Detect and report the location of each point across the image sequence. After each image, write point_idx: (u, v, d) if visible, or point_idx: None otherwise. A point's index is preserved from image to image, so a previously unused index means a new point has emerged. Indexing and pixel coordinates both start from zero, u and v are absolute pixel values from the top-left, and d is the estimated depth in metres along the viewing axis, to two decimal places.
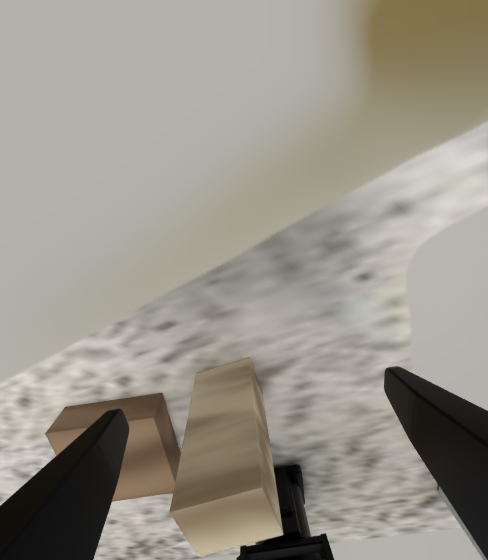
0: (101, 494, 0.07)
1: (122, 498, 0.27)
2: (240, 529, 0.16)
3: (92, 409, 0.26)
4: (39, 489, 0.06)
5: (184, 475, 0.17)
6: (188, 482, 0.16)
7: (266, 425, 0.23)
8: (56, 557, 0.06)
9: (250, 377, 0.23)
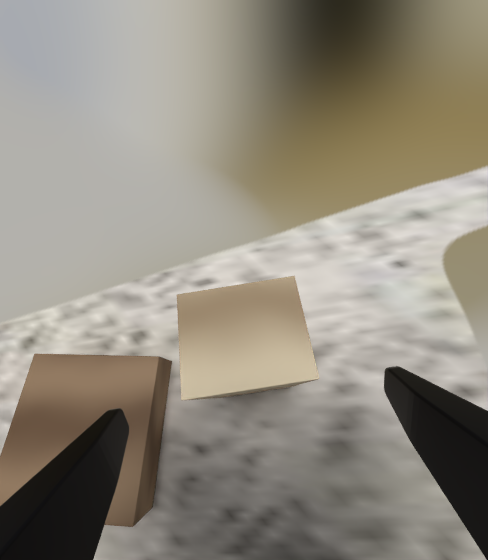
0: (101, 494, 0.07)
1: None
2: (256, 349, 0.11)
3: None
4: (39, 489, 0.06)
5: None
6: None
7: None
8: (56, 557, 0.06)
9: None
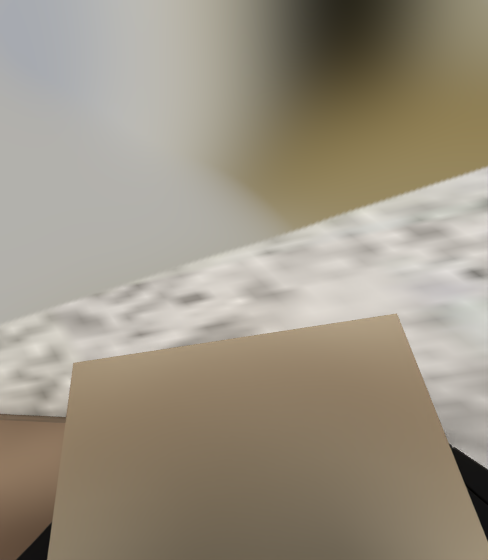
0: None
1: None
2: None
3: (14, 416, 0.15)
4: None
5: None
6: None
7: None
8: None
9: None
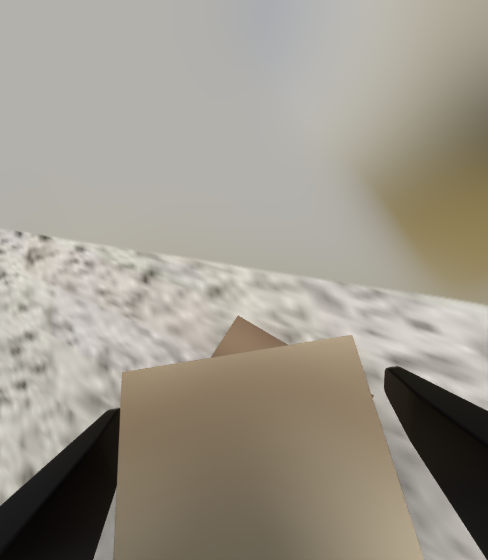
0: (101, 494, 0.07)
1: None
2: (282, 513, 0.05)
3: None
4: (39, 489, 0.06)
5: None
6: None
7: None
8: (56, 557, 0.06)
9: None
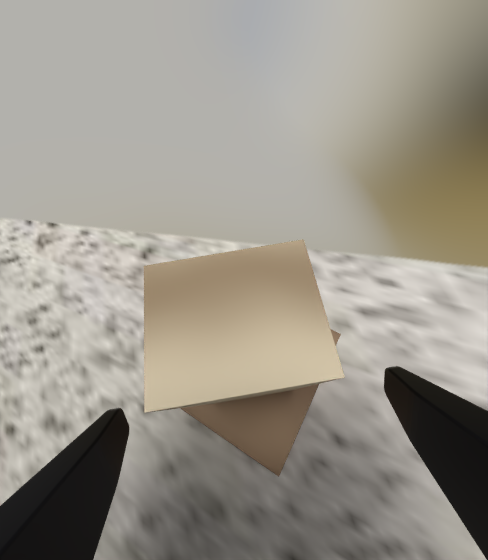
0: (101, 494, 0.07)
1: (203, 419, 0.18)
2: (252, 338, 0.08)
3: None
4: (39, 489, 0.06)
5: None
6: None
7: None
8: (56, 557, 0.06)
9: None
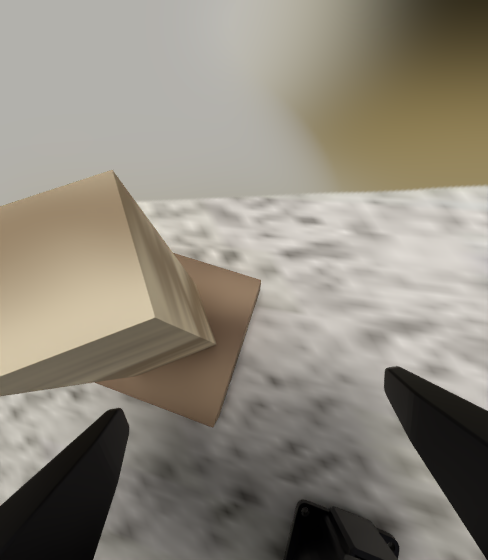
0: (101, 494, 0.07)
1: (131, 392, 0.17)
2: (48, 295, 0.06)
3: None
4: (39, 489, 0.06)
5: None
6: None
7: (203, 333, 0.14)
8: (56, 557, 0.06)
9: (185, 272, 0.16)
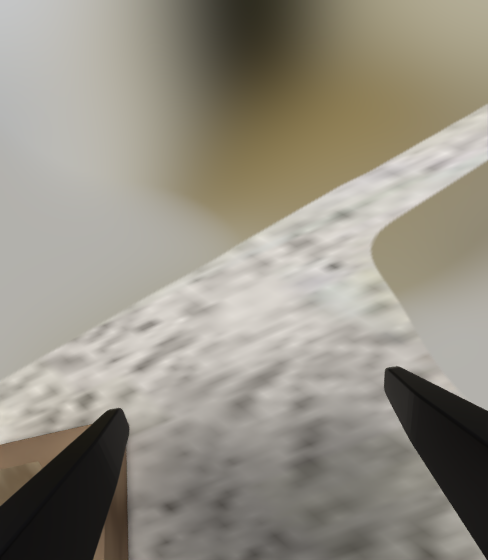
0: (101, 494, 0.07)
1: None
2: None
3: None
4: (39, 489, 0.06)
5: None
6: None
7: None
8: (56, 557, 0.06)
9: None
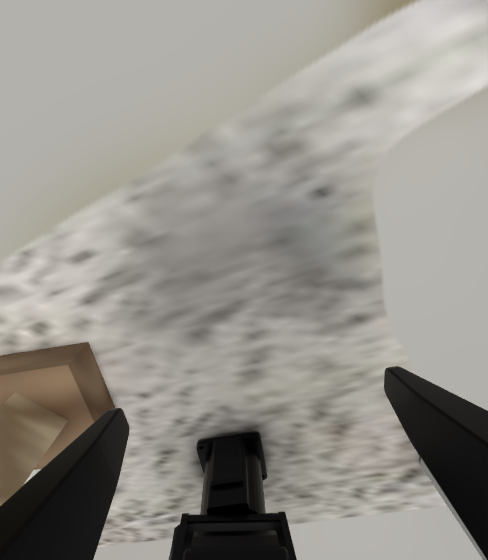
0: (101, 494, 0.07)
1: (45, 465, 0.23)
2: None
3: (3, 360, 0.22)
4: (39, 489, 0.06)
5: None
6: None
7: (24, 472, 0.17)
8: (56, 557, 0.06)
9: None
